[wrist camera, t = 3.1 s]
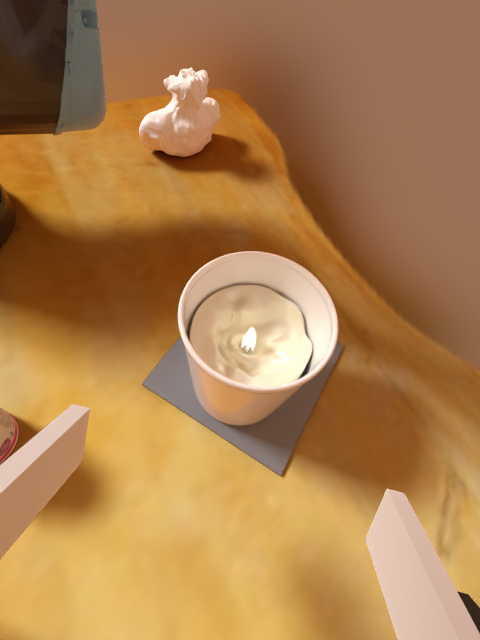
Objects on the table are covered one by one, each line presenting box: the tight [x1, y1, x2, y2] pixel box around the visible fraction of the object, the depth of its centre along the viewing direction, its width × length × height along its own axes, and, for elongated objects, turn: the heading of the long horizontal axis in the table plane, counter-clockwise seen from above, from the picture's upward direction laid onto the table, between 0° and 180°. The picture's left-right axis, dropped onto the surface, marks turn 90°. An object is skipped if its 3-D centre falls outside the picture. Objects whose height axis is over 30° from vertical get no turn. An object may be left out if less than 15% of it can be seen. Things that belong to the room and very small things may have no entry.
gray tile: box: [142, 336, 344, 476], centre depth 32 cm, size 14×14×1 cm
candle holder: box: [178, 251, 338, 426], centre depth 25 cm, size 10×10×12 cm
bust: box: [139, 68, 220, 157], centre depth 43 cm, size 12×8×11 cm
